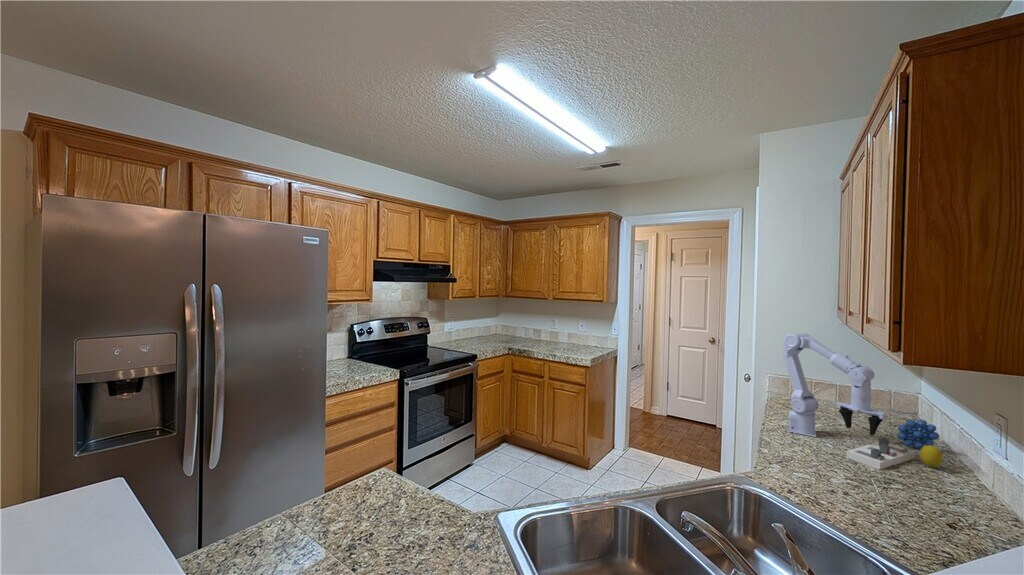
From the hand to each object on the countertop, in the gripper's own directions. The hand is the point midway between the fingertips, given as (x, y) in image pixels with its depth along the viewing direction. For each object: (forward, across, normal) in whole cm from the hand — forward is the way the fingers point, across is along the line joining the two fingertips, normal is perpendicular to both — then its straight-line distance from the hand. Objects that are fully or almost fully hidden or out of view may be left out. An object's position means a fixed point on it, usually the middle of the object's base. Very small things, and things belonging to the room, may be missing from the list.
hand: (860, 431), depth 148 cm
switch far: (+5, +4, +8) cm, 10 cm away
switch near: (+5, +9, -8) cm, 13 cm away
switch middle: (+5, +7, 0) cm, 9 cm away
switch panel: (+8, +6, 0) cm, 10 cm away
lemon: (+8, +17, +8) cm, 21 cm away
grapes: (+8, +7, +25) cm, 27 cm away
